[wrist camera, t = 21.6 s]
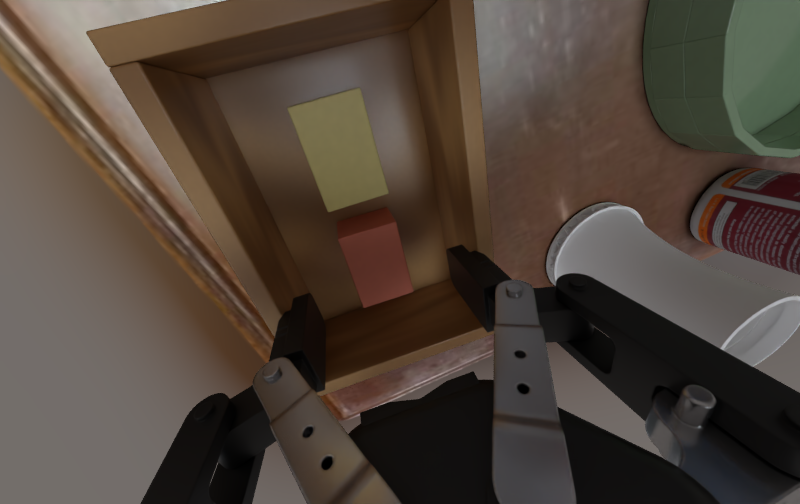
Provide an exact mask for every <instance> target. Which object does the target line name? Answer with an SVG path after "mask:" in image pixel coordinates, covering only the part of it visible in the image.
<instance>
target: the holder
mask: <svg viewBox="0 0 800 504" xmlns="http://www.w3.org/2000/svg"><path fill="white" fill-rule="evenodd" d="M86 33H87V35H88V37H89V38H90V40H91V42H92V43H93V45H94V46H95V48H96V50H97V51H98V53H99V54H100V56H101V58H102V59H103V61H104V63H105V64H106V65H107V66H108V67H111V68H110V72H111V73H112V75H113V77H114V78H115V80H116V81H117V83H118V85H119V86H120V88H121V89H122V91H123V93H124V94H125V96H126V98H127V99H128V101H129V102H130V104H131V106H132V107H133V109H134V110H135V112H136V114H137V115H138V117H139V119H140V120H141V122H142V123H143V125H144V127H145V128H146V130H147V132H148V133H149V135H150V136H151V138H152V140H153V141H154V143H155V144H156V146H157V148H158V149H159V151H160V153H161V154H162V156H163V157H164V159H165V161H166V162H167V164H168V165H169V167H170V169H171V170H172V172H173V174H174V175H175V177H176V178H177V180H178V182H179V183H180V185H181V186H182V188H183V190H184V191H185V193H186V195H187V196H188V198H189V199H190V201H191V203H192V204H193V206H194V208H195V209H196V211H197V212H198V214H199V216H200V217H201V219H202V220H203V222H204V224H205V225H206V227H207V229H208V230H209V232H210V233H211V235H212V237H213V238H214V240H215V241H216V243H217V245H218V246H219V248H220V250H221V251H222V253H223V254H224V256H225V258H226V259H227V261H228V263H229V264H230V266H231V267H232V269H233V271H234V272H235V274H236V275H237V277H238V279H239V280H240V282H241V284H242V285H243V287H244V288H245V290H246V292H247V293H248V295H249V296H250V298H251V300H252V301H253V303H254V305H255V306H256V308H257V309H258V311H259V313H260V314H261V316H262V318H263V319H264V321H265V322H266V324H267V326H268V327H269V329H270V330H271V332H272V334H273V335H274V337H275V334H276V331H277V326H278V321H279V320H280V318H281V317H282V315H283V314H284V313H285V312H286V311H289V310H291V307H292V301H293V298H295V297H298V296H301V295H304V294H307V293H311V294H312V296H313V298H314V300H315V302H316V304H317V306H318V308H319V310H320V312H321V315H322V317H323V319H324V322H325V326H326V382H325V390H323V391H321V392H318V393H317V394H318V395H319V396H321V395H324V394H327V393H330V392H333V391H335V390H338V389H341V388H344V387H347V386H349V385H352V384H355V383H358V382H361V381H363V380H366V379H369V378H372V377H375V376H377V375H380V374H383V373H386V372H389V371H391V370H394V369H397V368H400V367H403V366H405V365H408V364H411V363H414V362H417V361H419V360H422V359H425V358H428V357H430V356H433V355H436V354H439V353H442V352H444V351H447V350H450V349H453V348H456V347H458V346H461V345H464V344H467V343H470V342H472V341H475V340H478V339H481V338H484V337H486V336H489V335H492V334H494V331H491V332H488V333H487V332H486V330H485V329H484V327H483V326H482V325H481V323H480V322H479V320H478V319H477V318H476V316H475V315H474V313H473V312H472V311H471V309H470V308H469V307H468V305H467V304H466V302H465V301H464V300H463V298H462V297H461V295H460V294H459V293H458V291H457V290H456V288H455V287H454V285H453V283H452V280H451V277H450V272H449V266H448V260H447V254H446V249H448V248H451V247H454V246H457V245H460V244H462V245H463V246H464V247H465V248H466V249H467V250H468V251H469V252H472V251H478V252H480V253H483V254H485V255H486V256H487V257H488V258H489V259H490V260H491V261H492V262H494V255H493V243H492V230H491V218H490V205H489V192H488V180H487V167H486V155H485V142H484V129H483V117H482V104H481V92H480V79H479V66H478V54H477V41H476V29H475V16H474V3H473V0H226V1H222V2H217V3H213V4H208V5H203V6H199V7H194V8H190V9H185V10H181V11H176V12H172V13H167V14H163V15H158V16H154V17H149V18H145V19H140V20H135V21H131V22H126V23H122V24H117V25H113V26H108V27H104V28H99V29H95V30H90V31H87V32H86ZM358 87H359V88H360V89H361V92H362V95H363V99H364V103H365V107H366V110H367V114H368V118H369V121H370V125H371V129H372V132H373V136H374V140H375V143H376V147H377V151H378V154H379V158H380V162H381V165H382V169H383V173H384V176H385V180H386V184H387V187H388V191H389V193H388V194H386V195H383V196H380V197H376V198H373V199H370V200H367V201H364V202H360V203H357V204H354V205H351V206H348V207H345V208H341V209H338V210H335V211H332V212H328V211H327V209H326V206H325V204H324V201H323V199H322V196H321V194H320V191H319V188H318V186H317V183H316V181H315V178H314V176H313V173H312V171H311V168H310V166H309V163H308V161H307V158H306V156H305V153H304V151H303V148H302V145H301V143H300V140H299V138H298V135H297V133H296V130H295V128H294V125H293V123H292V120H291V118H290V115H289V113H288V110H287V108H288V107H290V106H294V105H297V104H301V103H304V102H308V101H312V100H315V99H319V98H322V97H326V96H330V95H333V94H337V93H340V92H344V91H348V90H351V89H355V88H358ZM385 207H387V208H388V209H389V211H390V213H391V214H392V216H393V218H394V219H395V221H396V223H397V227H398V231H399V235H400V239H401V243H402V247H403V251H404V255H405V259H406V263H407V267H408V271H409V275H410V279H411V283H412V287H413V290H414V291H413V292H412V293H409V294H406V295H403V296H400V297H397V298H394V299H391V300H388V301H385V302H382V303H378V304H375V305H372V306H369V307H366V308H363V305H362V303H361V300H360V297H359V295H358V292H357V289H356V287H355V284H354V281H353V278H352V276H351V273H350V270H349V268H348V265H347V262H346V260H345V257H344V254H343V252H342V249H341V246H340V244H339V241H338V233H337V222H338V221H342V220H345V219H348V218H352V217H355V216H358V215H362V214H365V213H368V212H372V211H375V210H379V209H382V208H385Z"/></svg>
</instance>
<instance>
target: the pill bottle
mask: <svg viewBox="0 0 800 504" xmlns="http://www.w3.org/2000/svg"><path fill="white" fill-rule="evenodd" d="M690 230H691V232H692V234H693V236H694V237H695V238H696V239H698V240H699V241H702V242H704V243H707V244H709V245H712V246H715V247H718V248H721V249H724V250H727V251H730V252H733V253H736V254H739V255H742V256H745V257H748V258H751V259H754V260H757V261H760V262H763V263H766V264H769V265H771V266H775V267H778V268H781V269H784V270H786V271H789V272H792V273H795V274H798V275H800V174H797V173H789V172H781V171H774V170H766V169H758V168H742V169H737V170H734V171H731V172H729V173H727V174H725V175H723V176H722V177H720V178H719V179H718V180H716V181H715V182H714V183H713V184H712V185H711V186H710V187H709V188H708V189H707V190H706V192H705V193H704V194H703V195H702V197H701V198H700V200H699V201H698V203H697V205H696V207H695V209H694V211H693V213H692V216H691V220H690Z"/></svg>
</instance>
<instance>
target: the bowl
mask: <svg viewBox="0 0 800 504" xmlns="http://www.w3.org/2000/svg"><path fill="white" fill-rule="evenodd" d="M643 74H644V84H645V90H646V94H647V98H648V103H649V106H650V108H651V111H652V113H653V115H654V118H655V120H656V121H657V123H658V124H659V126H660V127H661V129H662V130H663V131H664V132H665V133H666V134H667V135H668V136H669V137H670V138H671V139H673V140H674V141H676V142H678V143H679V144H681V145H684V146H687V147H690V148H692V149H699V150H708V151H718V152H728V153H737V154H747V155H757V156H768V157H781V158H793V157H796V156H799V155H800V0H650V2H649V7H648V12H647V17H646V23H645V33H644V42H643Z"/></svg>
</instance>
